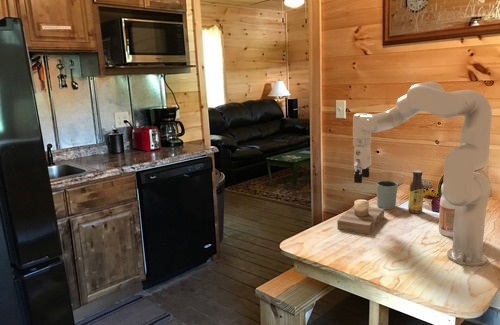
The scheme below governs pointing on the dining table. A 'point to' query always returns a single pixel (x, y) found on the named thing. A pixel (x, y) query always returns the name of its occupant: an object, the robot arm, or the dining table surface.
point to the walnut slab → (360, 220)
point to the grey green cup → (386, 194)
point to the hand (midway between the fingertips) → (361, 179)
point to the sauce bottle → (416, 193)
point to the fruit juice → (446, 216)
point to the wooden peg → (361, 208)
